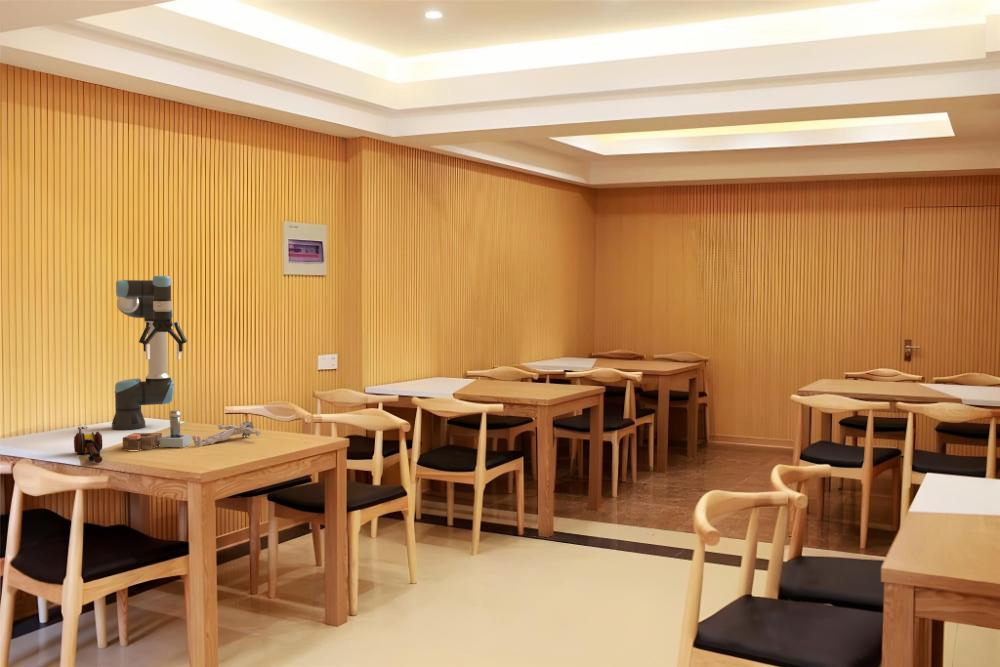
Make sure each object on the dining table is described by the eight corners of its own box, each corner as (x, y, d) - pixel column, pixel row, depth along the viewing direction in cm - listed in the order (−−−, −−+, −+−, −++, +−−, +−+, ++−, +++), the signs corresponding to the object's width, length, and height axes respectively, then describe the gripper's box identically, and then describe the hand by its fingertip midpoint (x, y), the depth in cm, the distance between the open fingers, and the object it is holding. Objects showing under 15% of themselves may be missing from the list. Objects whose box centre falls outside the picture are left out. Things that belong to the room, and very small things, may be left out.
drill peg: (172, 444, 388) (171, 410, 387) (182, 444, 388) (181, 410, 387) (168, 446, 383) (167, 412, 382) (178, 446, 383) (178, 412, 382)
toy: (176, 432, 392) (232, 414, 416) (179, 451, 393) (234, 432, 417) (216, 439, 376) (271, 420, 400) (218, 458, 377) (273, 438, 401)
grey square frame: (168, 443, 390) (168, 434, 390) (191, 443, 390) (191, 434, 390) (159, 447, 380) (159, 438, 380) (183, 447, 380) (182, 438, 380)
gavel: (112, 469, 349) (84, 472, 343) (98, 448, 377) (72, 450, 372) (112, 444, 347) (84, 447, 342) (98, 425, 376) (72, 427, 371)
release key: (132, 447, 376) (132, 434, 376) (140, 447, 376) (140, 434, 376) (129, 448, 373) (128, 435, 372) (137, 448, 373) (137, 435, 372)
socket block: (134, 444, 388) (134, 432, 388) (162, 444, 388) (161, 433, 388) (118, 451, 372) (118, 439, 372) (147, 451, 372) (147, 439, 372)
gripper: (130, 311, 387) (131, 359, 389) (187, 311, 387) (188, 359, 388) (137, 310, 395) (138, 358, 396) (193, 310, 395) (194, 358, 396)
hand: (163, 359), depth 392 cm, fingers open, 13 cm apart
